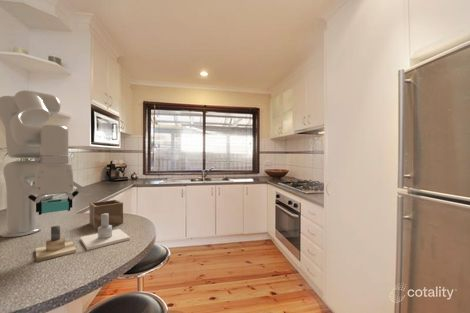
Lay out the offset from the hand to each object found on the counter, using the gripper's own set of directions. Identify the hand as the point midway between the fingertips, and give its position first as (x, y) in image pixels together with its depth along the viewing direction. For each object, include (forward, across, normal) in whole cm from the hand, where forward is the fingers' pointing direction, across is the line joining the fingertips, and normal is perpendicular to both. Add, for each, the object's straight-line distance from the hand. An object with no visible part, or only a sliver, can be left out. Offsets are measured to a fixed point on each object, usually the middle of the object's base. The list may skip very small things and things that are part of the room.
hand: (54, 211), depth 75 cm
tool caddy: (+14, +21, +24) cm, 35 cm away
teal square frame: (-1, 0, 0) cm, 1 cm away
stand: (+14, 0, -1) cm, 14 cm away
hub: (+14, +15, -1) cm, 20 cm away
